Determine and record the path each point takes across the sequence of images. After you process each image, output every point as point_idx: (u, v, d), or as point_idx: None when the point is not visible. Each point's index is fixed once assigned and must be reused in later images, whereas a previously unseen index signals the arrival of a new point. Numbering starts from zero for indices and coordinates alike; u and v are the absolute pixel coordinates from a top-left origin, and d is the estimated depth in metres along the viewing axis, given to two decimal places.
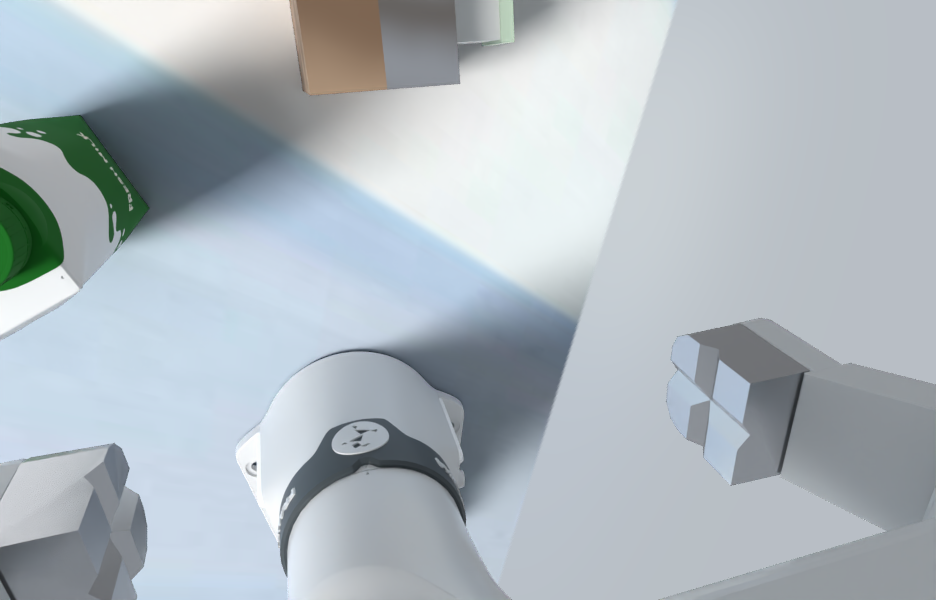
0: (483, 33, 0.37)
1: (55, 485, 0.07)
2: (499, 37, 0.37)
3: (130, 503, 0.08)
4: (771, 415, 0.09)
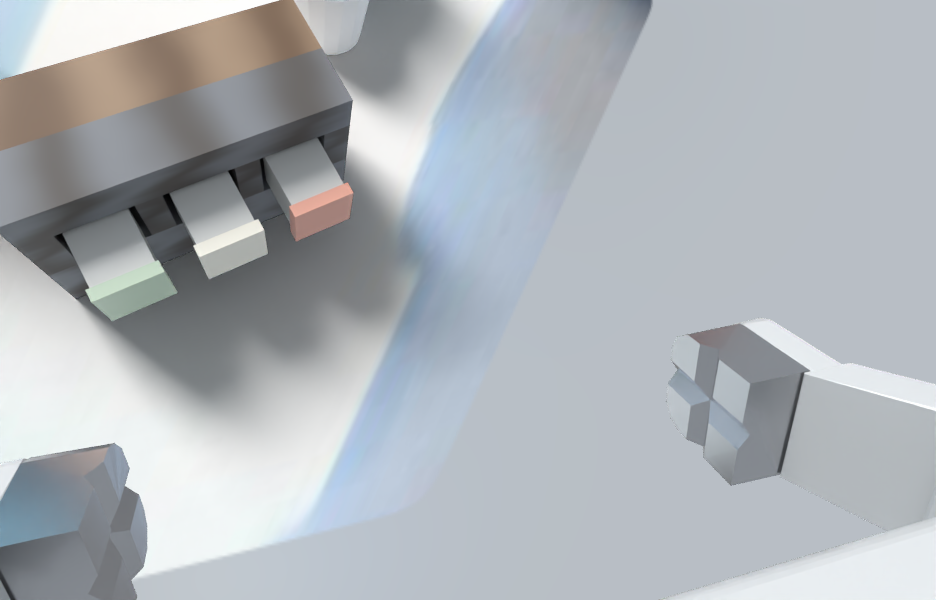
0: (89, 270, 0.35)
1: (55, 485, 0.07)
2: None
3: (130, 503, 0.08)
4: (771, 415, 0.09)
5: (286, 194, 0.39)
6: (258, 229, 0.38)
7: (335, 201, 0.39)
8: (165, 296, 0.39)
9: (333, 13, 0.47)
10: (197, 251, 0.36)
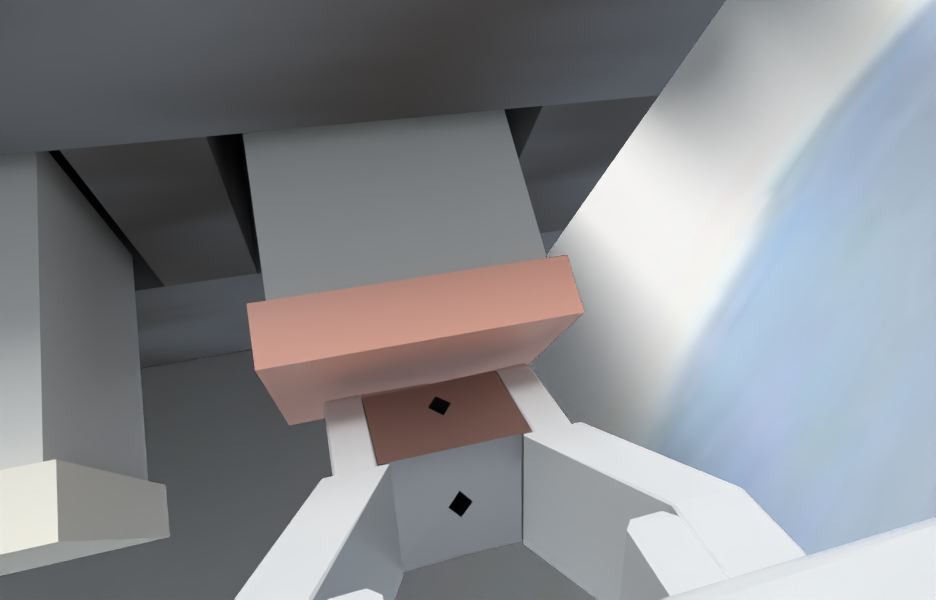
0: None
1: (407, 414, 0.08)
2: None
3: None
4: (494, 480, 0.08)
5: (262, 240, 0.08)
6: (22, 530, 0.06)
7: (487, 333, 0.08)
8: None
9: None
10: None
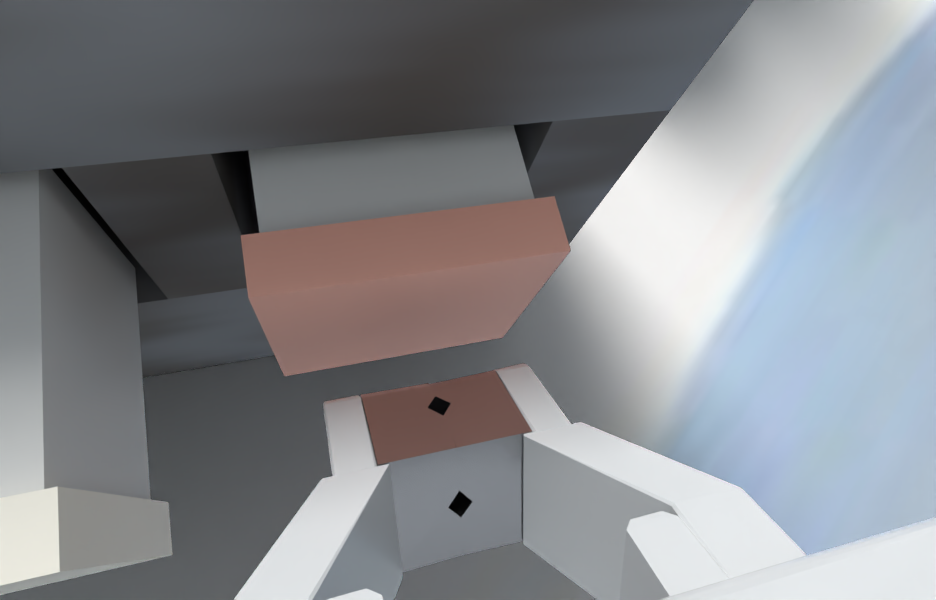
0: None
1: (407, 414, 0.08)
2: None
3: None
4: (494, 480, 0.08)
5: (256, 178, 0.08)
6: (23, 559, 0.06)
7: (475, 270, 0.08)
8: None
9: None
10: None
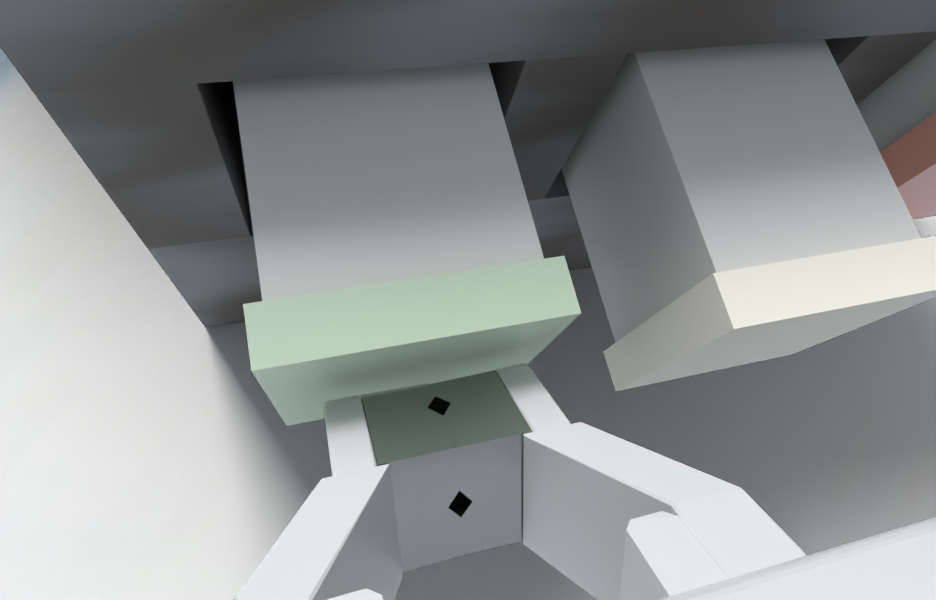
0: (284, 225, 0.08)
1: (407, 414, 0.08)
2: (272, 300, 0.07)
3: None
4: (494, 480, 0.08)
5: None
6: None
7: None
8: None
9: None
10: (727, 301, 0.08)
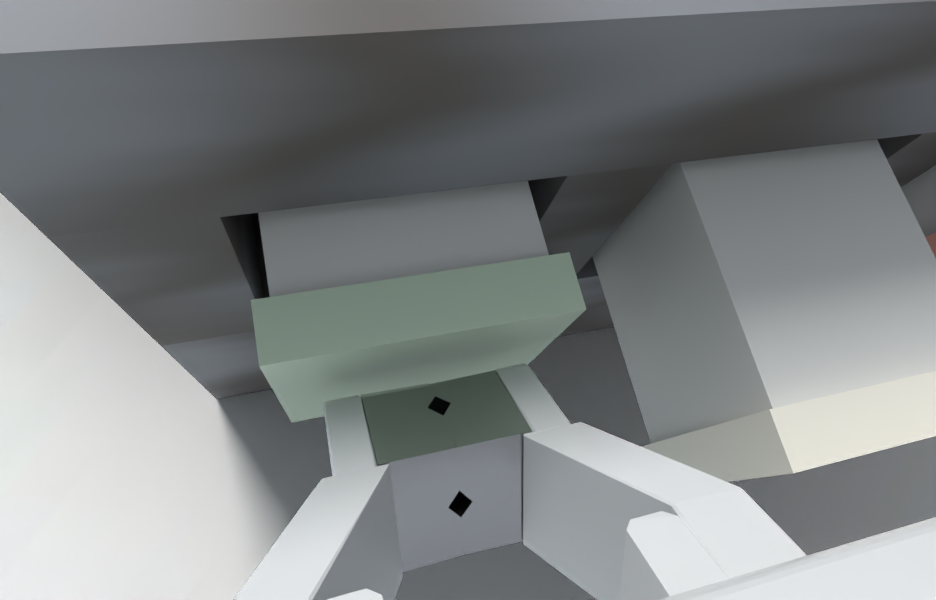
0: (291, 222, 0.08)
1: (407, 414, 0.08)
2: (279, 296, 0.07)
3: None
4: (494, 480, 0.08)
5: None
6: None
7: None
8: None
9: None
10: (785, 441, 0.08)
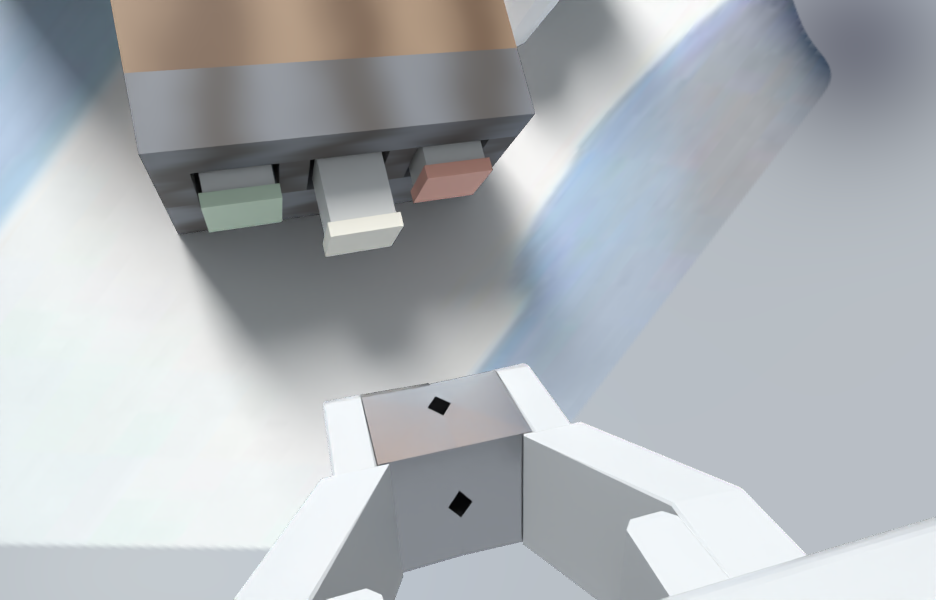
0: (207, 174, 0.32)
1: (407, 414, 0.08)
2: (204, 192, 0.32)
3: None
4: (494, 480, 0.08)
5: (424, 152, 0.36)
6: (397, 223, 0.34)
7: (471, 173, 0.36)
8: (269, 222, 0.36)
9: (519, 7, 0.44)
10: (330, 230, 0.33)
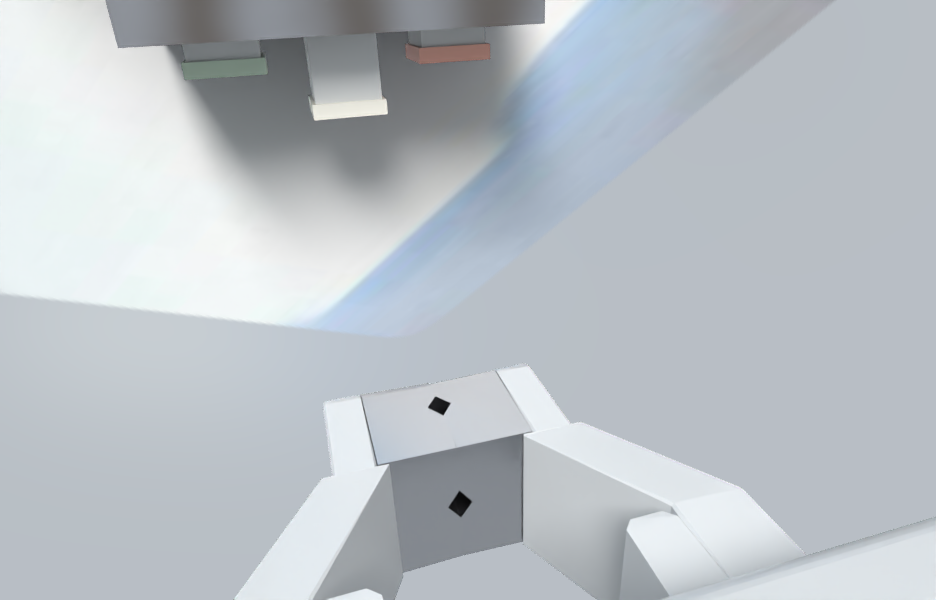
0: None
1: (407, 414, 0.08)
2: (187, 61, 0.31)
3: None
4: (494, 480, 0.08)
5: (421, 30, 0.33)
6: (381, 111, 0.34)
7: (467, 60, 0.35)
8: None
9: None
10: (314, 113, 0.34)
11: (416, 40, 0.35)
